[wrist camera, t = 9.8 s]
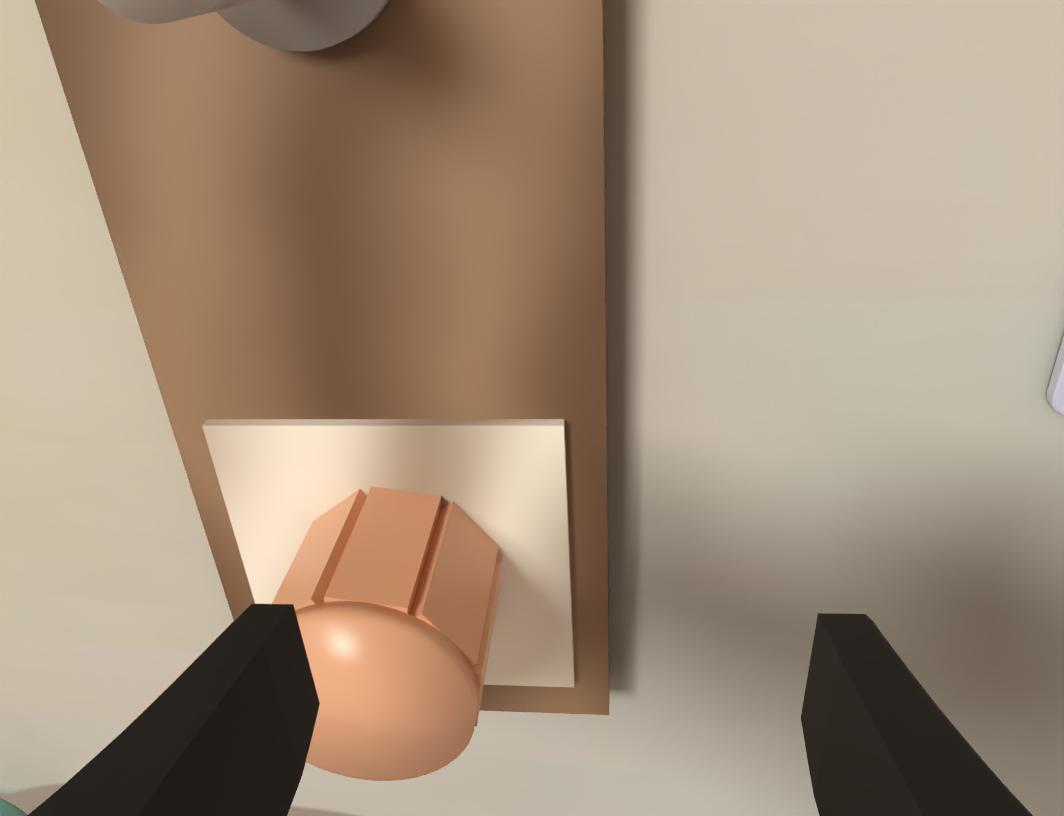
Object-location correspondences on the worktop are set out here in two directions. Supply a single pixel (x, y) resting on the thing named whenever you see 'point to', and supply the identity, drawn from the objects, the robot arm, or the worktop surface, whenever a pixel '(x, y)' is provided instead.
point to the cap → (394, 631)
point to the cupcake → (9, 809)
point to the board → (371, 279)
